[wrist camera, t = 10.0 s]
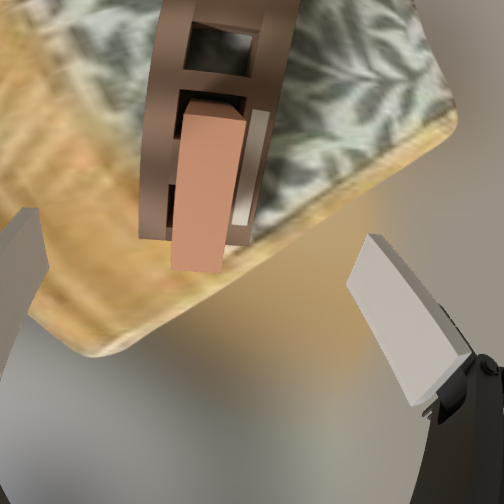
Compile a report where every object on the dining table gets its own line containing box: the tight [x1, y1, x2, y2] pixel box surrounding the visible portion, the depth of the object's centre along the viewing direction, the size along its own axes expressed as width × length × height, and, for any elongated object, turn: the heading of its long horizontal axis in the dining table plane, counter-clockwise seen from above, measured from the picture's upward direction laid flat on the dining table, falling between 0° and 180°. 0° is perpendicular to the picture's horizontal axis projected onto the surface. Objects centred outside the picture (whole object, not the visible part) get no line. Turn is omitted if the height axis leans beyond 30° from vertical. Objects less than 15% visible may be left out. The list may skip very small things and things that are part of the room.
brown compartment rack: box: [139, 0, 300, 246], centre depth 19 cm, size 25×9×4 cm, turn 169°
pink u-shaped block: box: [171, 98, 246, 273], centre depth 20 cm, size 9×3×10 cm, turn 169°
